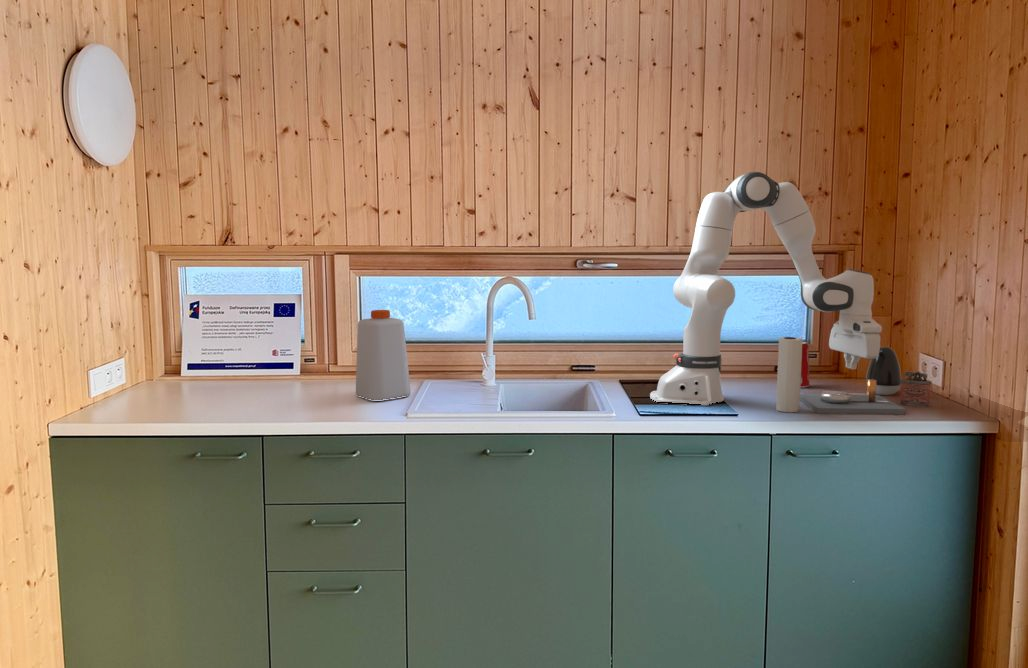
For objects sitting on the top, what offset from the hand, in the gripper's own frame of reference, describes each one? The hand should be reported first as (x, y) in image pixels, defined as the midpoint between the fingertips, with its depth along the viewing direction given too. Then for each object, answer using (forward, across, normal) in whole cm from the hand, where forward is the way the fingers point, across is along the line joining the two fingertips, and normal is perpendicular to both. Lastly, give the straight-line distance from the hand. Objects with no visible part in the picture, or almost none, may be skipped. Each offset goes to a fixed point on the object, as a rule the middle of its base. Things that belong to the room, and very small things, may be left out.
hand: (850, 368), depth 219 cm
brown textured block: (+10, +8, +16) cm, 20 cm away
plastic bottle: (+15, -33, -142) cm, 146 cm away
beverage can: (+10, -22, -4) cm, 24 cm away
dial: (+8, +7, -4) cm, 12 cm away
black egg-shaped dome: (+10, -7, +16) cm, 20 cm away
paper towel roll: (+11, +8, -24) cm, 28 cm away
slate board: (+10, +7, -4) cm, 13 cm away
